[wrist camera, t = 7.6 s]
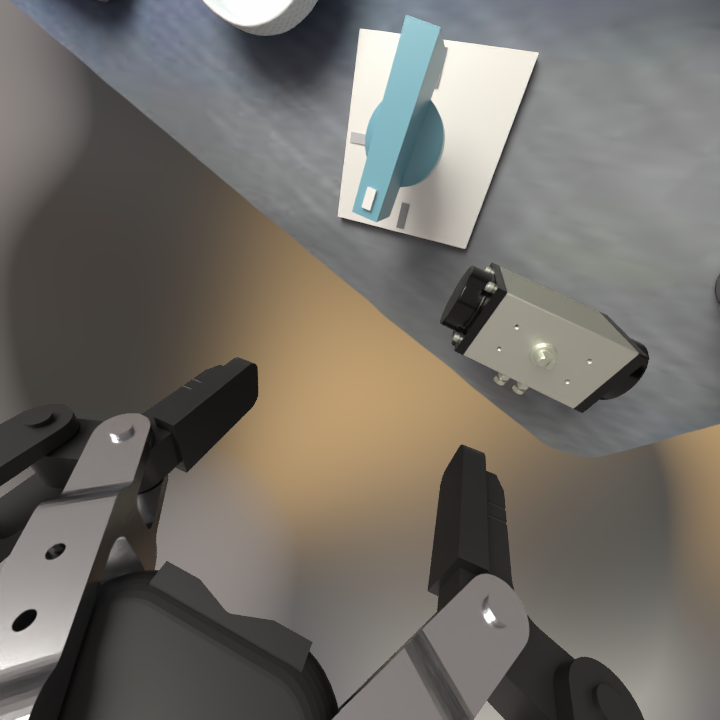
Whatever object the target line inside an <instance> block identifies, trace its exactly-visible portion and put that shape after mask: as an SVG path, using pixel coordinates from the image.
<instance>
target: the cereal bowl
mask: <svg viewBox="0 0 720 720" xmlns="http://www.w3.org/2000/svg"><path fill="white" fill-rule="evenodd" d="M317 1H318V0H203V2H204V3H205V4H206V5H207V6H208V7H209V8H210V9H211V10H212V11H213V12H214V13H215V14H216V15H217V16H219V17H221V18H222V19H223V20H224V21H225V22H227V23H230V24H231V25H232V26H234V27H237V28H238V29H240V30H243V31H245V32H247V33H251V34H256V35H260V36H262V35H264V36H269V35H276V34H282V33H284V32H287V31H289V30H290V29H291V28H294V27H295V26H296V25H297V24H299V23H301V21H302V20H303V19H305V17H306V16H308V14H309V12H311V11H312V9H313V7H314V6H315V4H316V3H317Z"/></svg>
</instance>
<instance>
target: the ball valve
mask: <svg viewBox="0 0 720 720" xmlns="http://www.w3.org/2000/svg"><path fill="white" fill-rule="evenodd" d="M440 324H442V325H444V326H446V327H448V328H450V329H452V330H453V337H452V345H454V346H455V351H456V352H458V353H460V354H462V355H464V356H466V357H468V358H470V359H472V360H474V361H476V362H478V363H480V364H483V365H485V366H487V367H489V368H491V369H493V370H495V371H497V372H499V373H498V375H496V376H495V377H494V381H495V382H496V383H497V384H499V385H501V386H503V385H504V384H505V383H506V382H507V381H508V380H509V379H510V378H511V379H513V380H515V381H517V383H516V384H515V385H514V386H513V387H512V389H513V391H514V392H515V393H517V394H519V395H522V394H523V393H524V392H525V391H526V390H527V389H528V388H529V387H530V388H532V389H534V390H536V391H538V392H540V393H542V394H544V395H546V396H548V397H550V398H552V399H554V400H557V401H559V402H561V403H563V404H565V405H567V406H569V407H571V408H573V409H575V410H577V411H579V412H581V413H583V412H584V411H586V410H587V409H588V408H589V407H591V406H592V405H593V404H594V403H596V402H597V401H598V400H608V399H612V398H616V397H618V396H620V395H622V394H624V393H625V392H627V391H628V390H630V389H631V388H632V387H633V386H634V385H635V384H636V383H637V382H638V381H639V380H640V378H641V377H642V375H643V374H644V372H645V370H646V368H647V365H648V360H649V355H648V351H647V349H646V347H645V346H644V345H643V344H641V343H639V342H637V341H635V340H633V339H631V338H629V337H628V336H627V335H626V334H625V333H624V332H623V331H622V330H621V329H620V328H619V327H618V326H617V325H616V324H615V323H614V322H613V321H612V320H611V319H610V318H609V317H608V316H607V315H605V314H603V313H601V312H599V311H597V310H594V309H592V308H590V307H588V306H586V305H584V304H581V303H579V302H577V301H575V300H573V299H570V298H568V297H566V296H564V295H562V294H559V293H557V292H555V291H553V290H551V289H549V288H546V287H544V286H542V285H540V284H538V283H535V282H533V281H531V280H529V279H527V278H525V277H522V276H520V275H518V274H516V273H514V272H511V271H509V270H507V269H505V268H503V267H501V266H498V265H496V264H494V263H491V265H490V266H489V267H488V266H487V267H486V268H485V269H484V271H483V270H481V269H479V268H477V267H475V266H471V267H470V268H469V269H468V270H467V271H466V273H465V274H464V275H463V277H462V278H461V280H460V282H459V283H458V285H457V287H456V288H455V290H454V292H453V294H452V296H451V297H450V299H449V301H448V303H447V305H446V307H445V310H444V312H443V314H442V317H441V320H440Z"/></svg>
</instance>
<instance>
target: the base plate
mask: <svg viewBox="0 0 720 720" xmlns="http://www.w3.org/2000/svg"><path fill="white" fill-rule="evenodd" d="M400 35H401V34H398V33H390V32H383V31H376V30H368V29H361V28H360V32H359V40H358V49H357V57H356V66H355V74H354V83H353V91H352V100H351V108H350V117H349V125H348V134H347V142H346V151H345V159H344V167H343V176H342V184H341V193H340V201H339V210H338V216H339V217H342V218H346V219H350V220H354V221H358V222H362V223H366V224H370V225H374V226H377V227H381V228H385V229H389V230H393V231H397V232H401V233H405V234H409V235H412V236H416V237H420V238H424V239H428V240H432V241H436V242H440V243H444V244H447V245H451V246H455V247H459V248H463V249H466V246H467V244H468V241H469V238H470V236H471V233H472V230H473V227H474V225H475V222H476V219H477V217H478V214H479V211H480V209H481V206H482V203H483V201H484V198H485V195H486V193H487V190H488V187H489V185H490V182H491V179H492V177H493V174H494V171H495V169H496V166H497V163H498V161H499V158H500V155H501V153H502V150H503V147H504V145H505V142H506V139H507V137H508V134H509V131H510V129H511V126H512V123H513V121H514V118H515V115H516V113H517V110H518V107H519V105H520V102H521V99H522V97H523V94H524V91H525V89H526V86H527V83H528V81H529V78H530V75H531V73H532V70H533V67H534V65H535V62H536V59H537V57H538V54H539V53H537V52H530V51H523V50H515V49H508V48H501V47H493V46H486V45H478V44H471V43H464V42H456V41H449V40H443V41H444V45H445V50H446V58H445V61H444V64H443V66H442V69H441V72H440V75H439V78H438V81H437V83H436V86H435V89H434V92H433V95H432V98H431V101H432V102H433V103H434V105H435V106H436V108H437V110H438V112H439V114H440V116H441V118H442V121H443V124H444V129H445V144H444V150H443V154H442V157H441V159H440V161H439V164H438V165H437V167H436V169H435V170H434V171H433V172H432V174H431V175H430V176H429V177H428V178H426V179H425V180H424V181H422V182H421V183H419V184H416V185H413V186H408V187H400V189H399V192H398V194H397V197H396V200H395V203H394V206H393V209H392V211H391V214H390V217H388V218H385V219H383V220H381V221H378V222H374V221H372V220H370V219H367V218H365V217H363V216H361V215H358V214H356V213H354V212H352V210H353V206H354V203H355V199H356V195H357V192H358V188H359V184H360V181H361V177H362V174H363V170H364V166H365V163H366V159H367V157H366V151H365V136H366V130H367V126H368V123H369V120H370V118H371V116H372V114H373V112H374V110H375V109H376V108H377V106H378V105H379V104H380V103H381V102H382V101H383V97H384V93H385V90H386V86H387V82H388V79H389V75H390V72H391V68H392V64H393V61H394V57H395V53H396V50H397V46H398V42H399V39H400Z"/></svg>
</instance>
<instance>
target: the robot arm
mask: <svg viewBox="0 0 720 720" xmlns="http://www.w3.org/2000/svg"><path fill="white" fill-rule="evenodd" d="M716 296H717V298H718V300H719V302H720V276H719V278H718V280H717V284H716ZM257 397H258V369H257V365H256V364H254V363H251V362H249V361H246V360H244V359H241V358H238V357H237V358H234V359H233V360H231V361H230V362H228V363H227V364H226V365H224V366H222V365H219V366H216V367H213V368H210V369H207V370H205V371H204V372H202V373H201V374H199V375H198V376H196V377H195V378H194V380H191V381H189V382H188V383H186V384H185V385H184V387H180V388H179V389H178V390H176V391H175V392H173V393H172V394H170V395H169V396H168V397H166V398H165V399H163V400H162V401H160V402H159V403H157V404H156V405H154V406H153V407H151V408H150V409H149V410H147V411H146V412H144V413H142V414H135V413H131V414H122V415H118V416H116V417H113V418H110V419H108V420H106V421H95V420H86V419H77V418H76V416H75V414H74V412H73V411H72V409H71V408H70V407H68V406H67V405H63V404H48V405H42V406H38V407H35V408H32V409H29V410H27V411H24V412H22V413H20V414H19V415H17V416H15V417H13V418H11V419H9V420H7V421H6V422H4V423H2V424H0V486H1V485H3V484H4V483H6V482H7V481H9V480H10V479H12V478H13V477H15V476H16V475H18V474H19V473H20V472H22V471H23V470H25V469H26V468H28V467H29V466H31V468H32V469H33V470H34V471H35V474H34V475H32V476H31V477H30V478H28V479H27V480H25V481H24V482H23V483H21V484H20V485H18V486H17V487H15V488H14V489H13V490H11V491H10V492H8V493H7V494H5V495H4V496H3V497H1V498H0V563H1V562H2V561H3V560H4V559H5V558H7V557H8V556H9V555H10V556H9V557H8V559H7V561H6V563H5V565H4V566H3V568H2V570H1V572H0V720H474V718H475V717H476V715H477V714H478V712H479V711H480V709H481V708H482V706H483V705H484V704H485V702H486V701H488V702H489V703H490V704H491V705H492V706H493V707H494V709H495V710H496V711H497V712H498V713H499V714H500V715H501V716H502V717H503V718H504V719H505V720H644V718H643V716H642V713H641V711H640V709H639V707H638V706H637V703H636V702H635V700H634V698H633V697H632V695H631V694H630V692H629V691H628V689H627V688H626V687H625V685H624V684H623V683H622V682H621V680H620V679H619V678H618V677H617V676H616V675H615V674H614V673H613V672H612V671H611V670H610V669H609V668H607V667H606V666H605V665H603V664H602V663H600V662H599V661H597V660H595V659H592V658H589V657H580V658H577V659H574V658H573V657H572V656H570V655H569V654H568V653H567V652H566V651H565V650H563V649H562V648H561V647H560V646H559V645H557V644H556V643H555V642H554V641H553V640H552V639H551V638H549V637H548V636H547V635H546V634H545V633H544V632H543V631H541V630H540V629H539V628H538V627H537V626H536V625H535V624H534V623H533V622H532V620H530V618H529V617H528V615H527V614H526V611H525V608H524V606H523V604H522V602H521V600H520V599H519V597H518V596H517V594H516V593H515V591H514V588H513V584H512V577H511V566H510V555H509V543H508V532H507V525H506V521H507V520H506V511H505V498H504V491H503V489H502V486H501V484H500V482H499V480H498V478H497V476H496V475H495V474H493V473H490V472H488V471H486V460H485V459H486V458H485V454H484V453H483V452H480V451H478V450H475V449H472V448H470V447H467V446H464V445H460V447H459V448H458V450H457V452H456V453H455V455H454V456H453V458H452V460H451V462H450V463H449V465H448V467H447V468H446V470H445V472H444V474H443V477H442V481H441V485H440V492H439V500H438V509H437V518H436V526H435V534H434V542H433V550H432V559H431V567H430V576H429V584H428V591H429V592H431V593H433V594H435V595H437V596H439V597H438V609H437V612H436V613H435V614H434V615H433V616H432V617H431V618H430V619H429V620H428V621H427V622H426V623H425V624H424V625H423V626H422V627H421V628H420V629H419V630H418V631H417V632H416V633H415V634H414V635H413V636H412V637H411V638H410V639H409V640H408V641H407V642H406V643H405V644H404V645H403V646H402V647H401V648H400V649H399V650H398V651H397V652H396V653H394V654H393V655H392V656H391V657H390V658H389V659H388V660H387V661H386V662H385V663H384V664H383V665H382V666H381V667H380V668H379V669H378V670H377V671H376V672H375V673H374V674H373V675H372V676H371V677H370V678H368V679H367V681H366V682H364V684H363V685H361V686H360V687H359V688H358V689H357V690H356V691H355V692H354V693H353V694H352V695H351V696H350V697H349V698H348V699H347V700H346V701H345V702H344V703H343V704H342V705H341V706H340V707H339V708H338V705H337V701H336V698H335V695H334V692H333V689H332V686H331V684H330V682H329V680H328V678H327V676H326V674H325V672H324V670H323V669H322V667H321V665H320V664H319V662H318V661H317V660H316V658H315V657H314V656H313V655H312V654H311V652H310V651H309V650H310V647H311V645H312V642H311V641H309V640H308V639H306V638H304V637H302V636H301V635H299V634H297V633H295V632H293V631H292V630H290V629H288V628H286V627H284V626H283V625H281V624H279V623H277V622H275V621H273V620H267V619H260V618H254V617H247V616H241V615H234V614H230V613H228V612H227V611H225V609H224V608H223V607H222V606H221V605H220V604H219V602H218V601H217V600H216V598H214V596H213V595H212V594H211V592H210V591H209V590H208V589H207V588H206V586H205V585H204V584H203V583H202V581H201V580H200V579H198V578H196V577H195V576H193V575H191V574H189V573H187V572H186V571H184V570H182V569H180V568H178V567H177V566H175V565H173V564H171V563H169V562H168V561H166V563H165V564H164V565H163V566H162V568H161V569H160V570H155V566H156V558H157V544H156V534H157V529H158V524H159V520H160V515H161V510H162V506H163V501H164V497H165V492H166V487H167V483H168V474H169V473H170V472H171V471H172V470H173V469H174V468H175V467H176V468H178V469H180V470H182V471H184V472H188V471H189V470H190V469H191V468H192V467H193V466H194V465H195V464H196V463H197V462H198V461H199V460H200V459H201V458H202V457H203V456H204V455H205V454H206V453H207V452H208V451H209V450H210V449H211V448H212V447H213V446H214V445H215V444H216V443H217V442H218V441H219V440H220V439H221V438H222V437H223V436H224V435H225V434H226V433H227V432H228V431H229V430H230V429H231V428H232V427H233V426H234V425H235V424H236V423H237V422H238V421H239V420H240V419H241V418H242V417H243V416H244V415H245V414H246V413H247V412H248V411H249V410H250V409H251V408H252V407H253V405H254V404H255V402H256V400H257Z"/></svg>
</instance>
